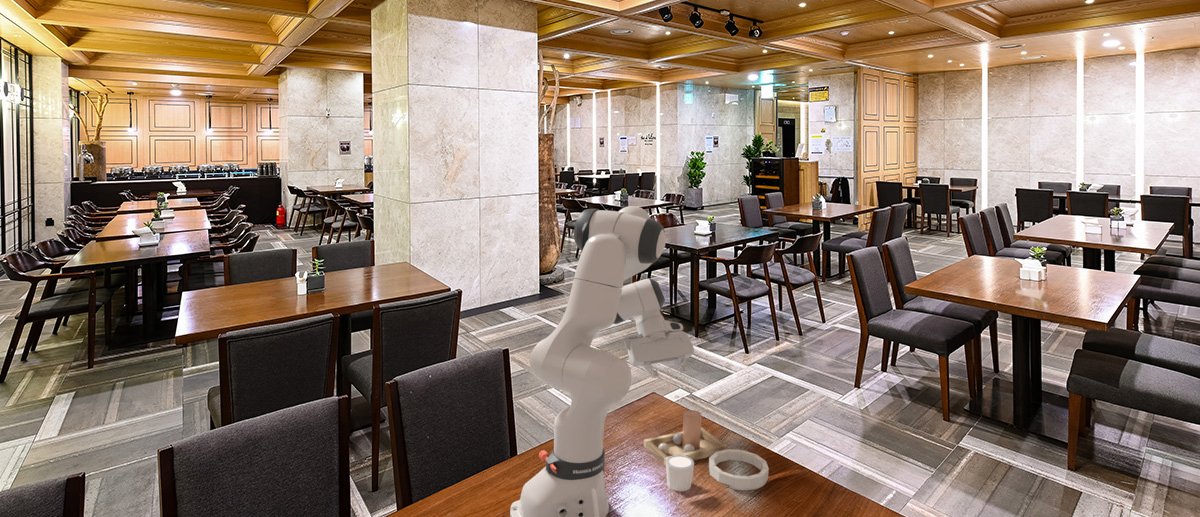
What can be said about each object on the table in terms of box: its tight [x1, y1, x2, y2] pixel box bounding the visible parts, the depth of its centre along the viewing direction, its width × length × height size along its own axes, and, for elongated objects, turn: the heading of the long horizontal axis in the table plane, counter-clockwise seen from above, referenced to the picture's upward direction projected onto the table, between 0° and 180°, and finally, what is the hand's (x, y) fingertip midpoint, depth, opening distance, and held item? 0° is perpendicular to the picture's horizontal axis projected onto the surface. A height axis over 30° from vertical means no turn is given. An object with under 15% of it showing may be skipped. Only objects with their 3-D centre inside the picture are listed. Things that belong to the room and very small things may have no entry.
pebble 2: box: [673, 434, 683, 445], centre depth 170 cm, size 3×3×3 cm
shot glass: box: [665, 455, 695, 492], centre depth 149 cm, size 7×7×7 cm
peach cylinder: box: [682, 409, 702, 450], centre depth 167 cm, size 5×5×10 cm
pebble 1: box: [658, 443, 669, 454], centre depth 164 cm, size 3×3×3 cm
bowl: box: [708, 448, 770, 492], centre depth 156 cm, size 14×14×3 cm
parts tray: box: [643, 426, 728, 467], centre depth 167 cm, size 19×12×3 cm, turn 115°
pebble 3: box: [683, 444, 695, 453], centre depth 164 cm, size 3×3×3 cm
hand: (669, 374), depth 176 cm, fingers open, 8 cm apart
